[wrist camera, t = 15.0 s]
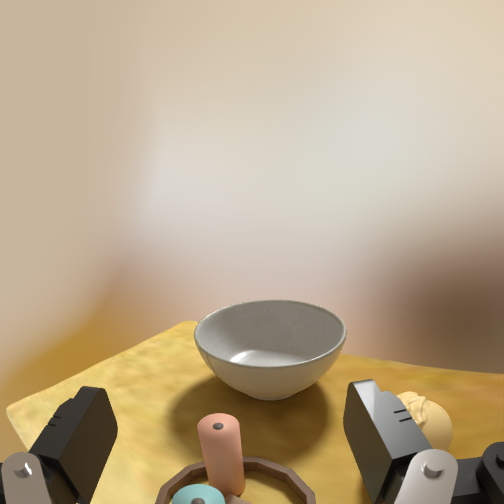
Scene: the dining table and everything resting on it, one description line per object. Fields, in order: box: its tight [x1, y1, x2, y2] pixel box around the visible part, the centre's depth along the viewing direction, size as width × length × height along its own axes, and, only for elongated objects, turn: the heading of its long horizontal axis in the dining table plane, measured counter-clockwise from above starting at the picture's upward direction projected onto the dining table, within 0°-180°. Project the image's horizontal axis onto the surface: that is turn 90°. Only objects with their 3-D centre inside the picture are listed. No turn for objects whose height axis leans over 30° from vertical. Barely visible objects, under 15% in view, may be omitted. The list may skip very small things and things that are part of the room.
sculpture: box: [397, 392, 453, 452], centre depth 33 cm, size 12×12×11 cm
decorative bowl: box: [194, 300, 347, 401], centre depth 57 cm, size 27×27×12 cm
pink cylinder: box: [197, 413, 245, 498], centre depth 32 cm, size 5×5×12 cm
